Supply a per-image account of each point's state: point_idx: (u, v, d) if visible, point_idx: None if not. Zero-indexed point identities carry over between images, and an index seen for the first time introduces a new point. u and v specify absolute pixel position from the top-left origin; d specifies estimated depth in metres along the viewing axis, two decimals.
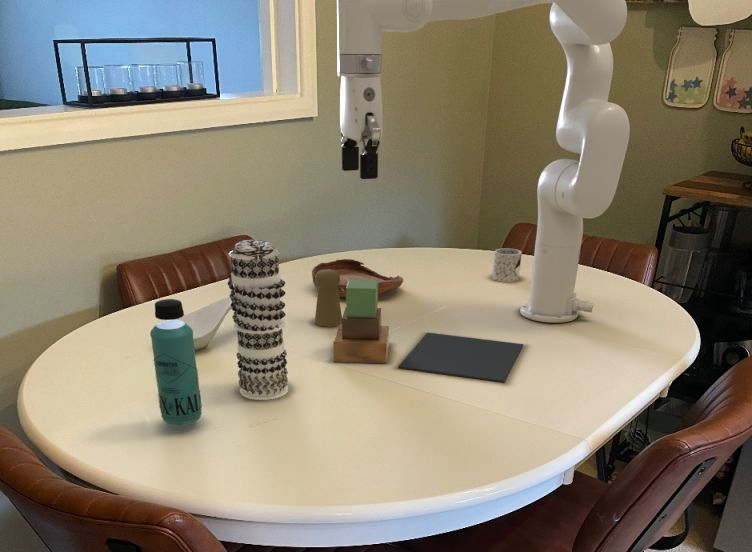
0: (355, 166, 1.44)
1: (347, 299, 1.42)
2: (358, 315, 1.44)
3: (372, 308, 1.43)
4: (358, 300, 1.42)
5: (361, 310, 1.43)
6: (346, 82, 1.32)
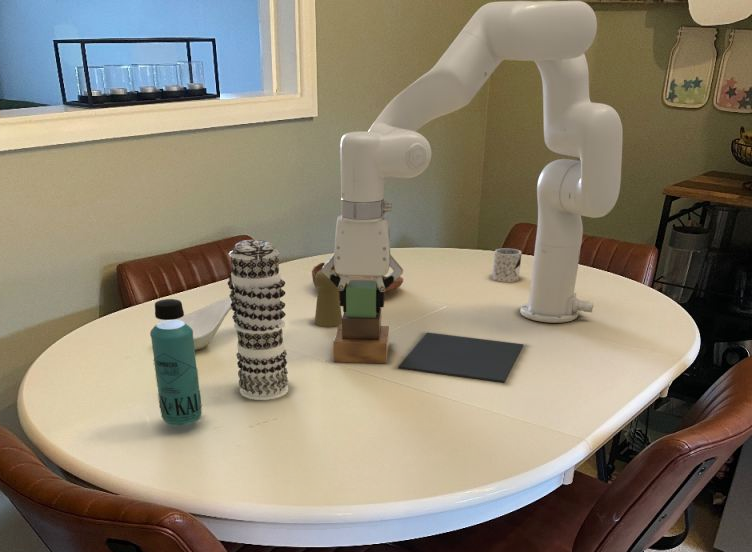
0: None
1: (347, 299, 1.42)
2: (358, 315, 1.44)
3: (372, 308, 1.43)
4: (358, 300, 1.42)
5: (361, 310, 1.43)
6: (362, 226, 1.35)
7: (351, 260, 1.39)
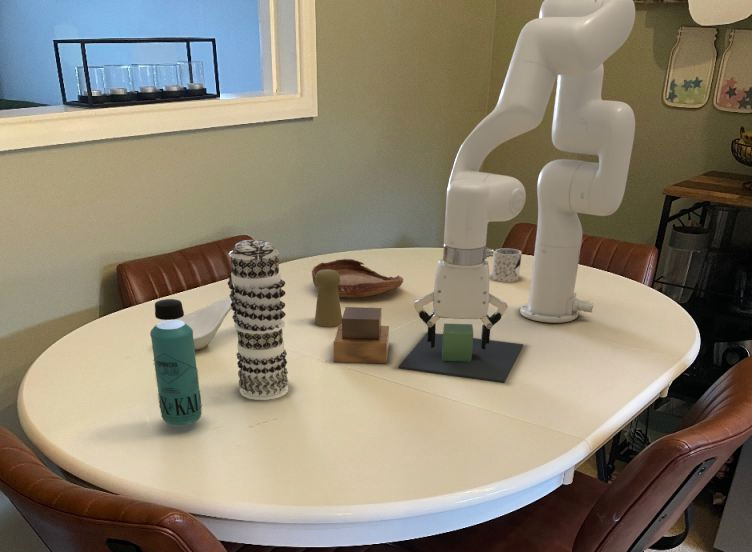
0: None
1: (444, 343, 1.44)
2: (454, 359, 1.46)
3: (469, 352, 1.45)
4: (455, 344, 1.44)
5: (458, 354, 1.45)
6: (465, 271, 1.38)
7: (451, 304, 1.41)
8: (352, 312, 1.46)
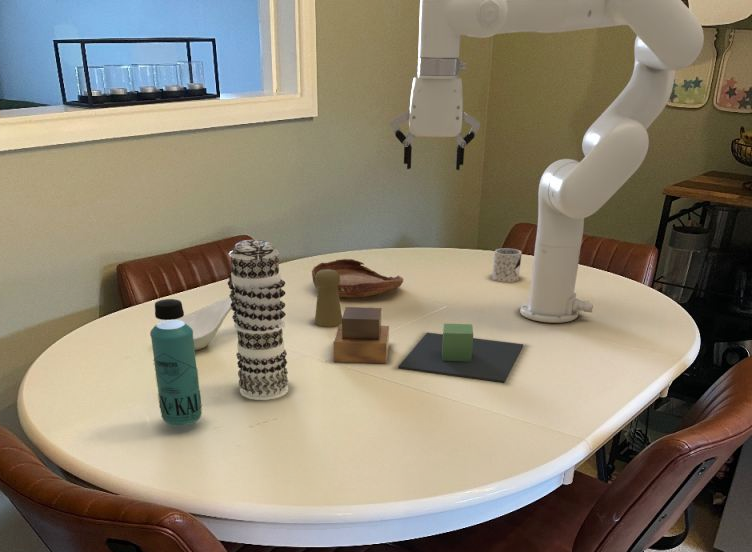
0: None
1: (444, 343, 1.44)
2: (454, 359, 1.46)
3: (469, 352, 1.45)
4: (455, 344, 1.44)
5: (458, 354, 1.45)
6: (438, 84, 1.43)
7: (426, 119, 1.46)
8: (352, 312, 1.46)
